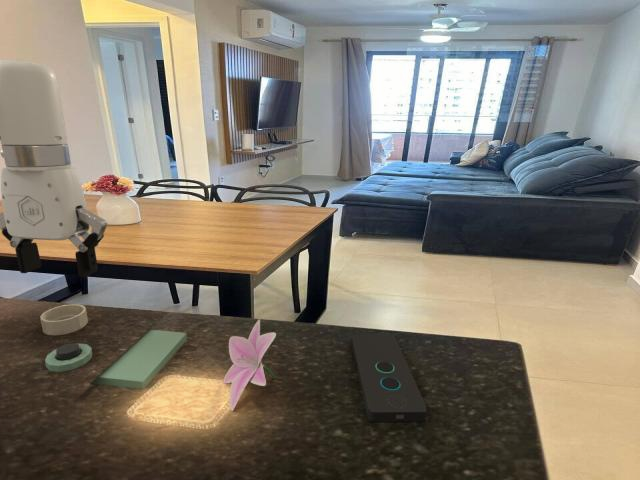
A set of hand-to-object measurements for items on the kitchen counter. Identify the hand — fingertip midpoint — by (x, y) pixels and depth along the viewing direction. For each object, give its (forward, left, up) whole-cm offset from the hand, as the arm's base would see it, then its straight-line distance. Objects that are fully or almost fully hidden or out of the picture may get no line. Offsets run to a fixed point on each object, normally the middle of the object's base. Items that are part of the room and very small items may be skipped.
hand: (59, 272), depth 58 cm
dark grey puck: (+2, -3, -13) cm, 13 cm away
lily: (+30, -2, -16) cm, 34 cm away
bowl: (-7, +7, -15) cm, 18 cm away
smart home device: (+50, +4, -16) cm, 53 cm away
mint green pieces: (+7, +2, -15) cm, 17 cm away
